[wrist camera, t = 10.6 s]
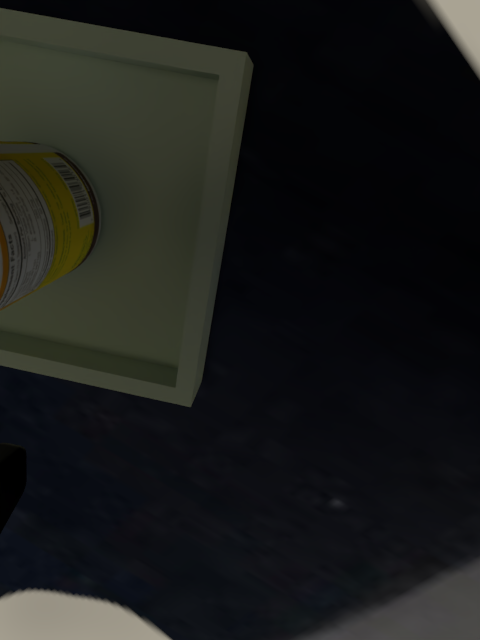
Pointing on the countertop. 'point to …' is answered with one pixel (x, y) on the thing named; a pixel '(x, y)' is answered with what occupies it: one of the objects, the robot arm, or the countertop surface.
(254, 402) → the countertop surface
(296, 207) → the countertop surface
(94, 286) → the tray
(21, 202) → the supplement bottle
